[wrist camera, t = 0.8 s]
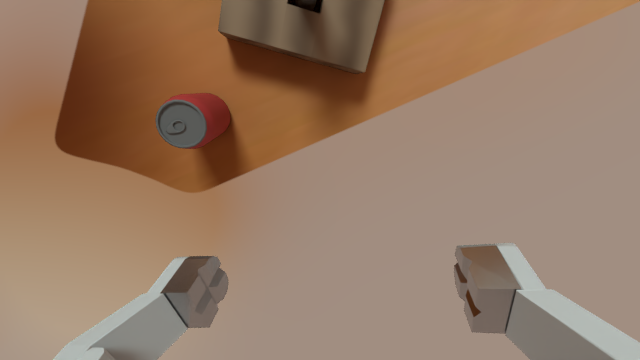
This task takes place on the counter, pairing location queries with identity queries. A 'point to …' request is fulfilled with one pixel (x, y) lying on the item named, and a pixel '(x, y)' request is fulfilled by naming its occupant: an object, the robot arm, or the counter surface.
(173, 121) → the beer can
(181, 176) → the counter surface
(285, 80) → the counter surface
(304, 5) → the steel peg
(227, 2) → the brown flat block
